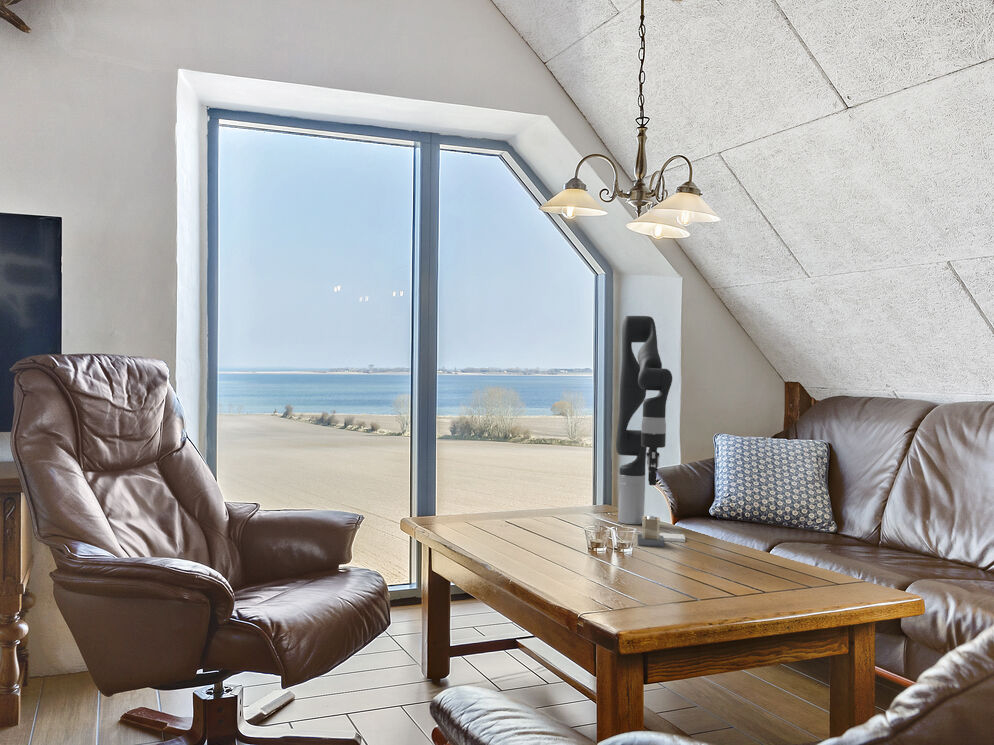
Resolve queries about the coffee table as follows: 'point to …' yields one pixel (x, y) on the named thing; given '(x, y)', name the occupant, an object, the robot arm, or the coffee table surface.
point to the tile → (673, 537)
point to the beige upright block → (651, 528)
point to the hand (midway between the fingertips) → (652, 483)
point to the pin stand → (650, 542)
